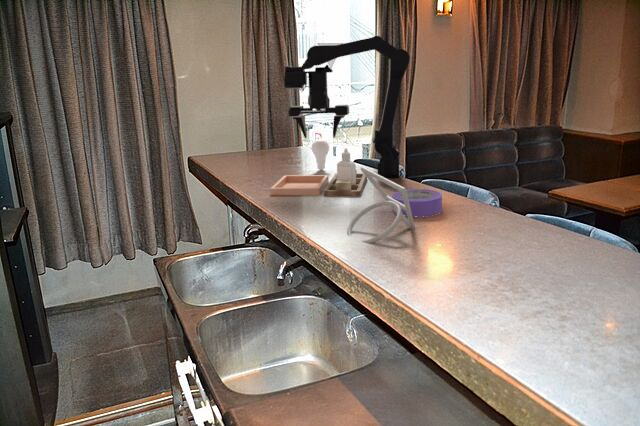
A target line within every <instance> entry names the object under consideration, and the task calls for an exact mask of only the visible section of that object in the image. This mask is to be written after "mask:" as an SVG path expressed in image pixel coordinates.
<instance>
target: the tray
mask: <svg viewBox="0 0 640 426" xmlns="http://www.w3.org/2000/svg"><path fill="white" fill-rule="evenodd" d="M329 179H330V178H329V174H320V175H319V174H318V175H317V174H315V175H314V174H312V175H309V174H308V175H306V174H303V175H302V174H295V175H294V174H293V175H291V174H288V175H287V174H286V175H283V176H282V177H281V178H280V179H278V181H277V182H276V183H275V184H274V185H272V187H270V189H269V190H270V196H320V195H321V194H322V192H324V190H325V189H326V187H327V186H328V184H329V182H330V180H329Z"/></svg>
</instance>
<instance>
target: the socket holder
mask: <svg viewBox="0 0 640 426" xmlns="http://www.w3.org/2000/svg"><path fill="white" fill-rule="evenodd" d="M367 179H368V178H367V177H366V176H365V174H364V173H363V172H362V173H361V172H357V178H356V185H351V190H336V184H335V183H336V181H337V172H336V173H334V174H333V176H332V177H331V180H329V183H328V184H327V186H326V187H325V188H324V190H323V197H361V196H362V192H363V190H364V188H365V186H366V182H367Z"/></svg>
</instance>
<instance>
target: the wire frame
mask: <svg viewBox="0 0 640 426" xmlns="http://www.w3.org/2000/svg"><path fill="white" fill-rule="evenodd" d="M360 171H361V172H362V173H364V174H365V176H366V177H367V179H368V181H369V182H370V183H371V184H372V185H373V187H374V188H375V189H376V190H377V191H378V192H379V194H380V195H381V196H382V197H383V199H384V200H382V201H378V202H375V203H373V204H370V205H369V206H367V207H365V208H364V209H362V210H361V211H359V213H357V215H355V216H354V218H353V219H352V220H351V222H350V223H349V225H348V227H347V229H346V230H347V231H346V235H347V236H348V237H352V235H353V234H352V233H353V229H354V227H355V225H356V224H357V222H358V221H359V220H360V219H361V218H362V217H363V216H364V215H366V214H368V213H369V212H370V211H372V210H374V209H376V208H380V207H383V206H385V207H386V206H389V207H391V209H392V208H393V210H394V211H395V212H396V213H397V214H396V217H395V219H394V221H393V222H392V224H391V225H390V226H389V227H388V228H387V229H385V230H384V231H383V232H381V233H379V234H378V235H377V236H374V237H372V238H370V239H365V240H364V239H363V240H360V242H361V243H366V244H374V243H377V242H380V241H381V240H383V239H385V238H386V237H387V236H389V235H390V234H392V232H393V231H394V230H395V229H396V228H397V226H398V225H399V223H400V222H401V220H402V223H404V224H405V225H406V226H407V228H408V229H410V230H412V231H413V230H415V229H416V227H415V222H414V217H412V213H411V209H410V204H409V200H408V196H407V191H406V190H407V189H406V187H404V186H402V185H400V184H398V183H396V182H394V181H392V180H390V179H389V178H384V177H382V176H380V175H378V173H376V172H374V171H372V170H370V169H368V168H366V167H364V166H361V167H360ZM376 180H378V181H380V182H382V183H384V184H385V185H387V186H389V187H391V188H393V189H395V190H397V191H401V193H402V197H403V201H404V204H402V203H400V202H398V201H396V200H395V199H393V198H392V197H391V196H389V195H388V194H387V193H386V191H385V190H384V189H383V188H382V187H381V185H380V184H379V182H377V181H376ZM402 209H403V210H405V211H406V213H407V216H404V215H403V213H402Z"/></svg>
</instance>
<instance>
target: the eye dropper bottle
mask: <svg viewBox="0 0 640 426" xmlns="http://www.w3.org/2000/svg"><path fill="white" fill-rule="evenodd" d="M356 169H357V166H356V164H355V162H354V161H351V153H350V152H349V151H348V148H344V151H343V152H342V153H341V161H339V162H337V164H336V173H337V180H351V185H356Z"/></svg>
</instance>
